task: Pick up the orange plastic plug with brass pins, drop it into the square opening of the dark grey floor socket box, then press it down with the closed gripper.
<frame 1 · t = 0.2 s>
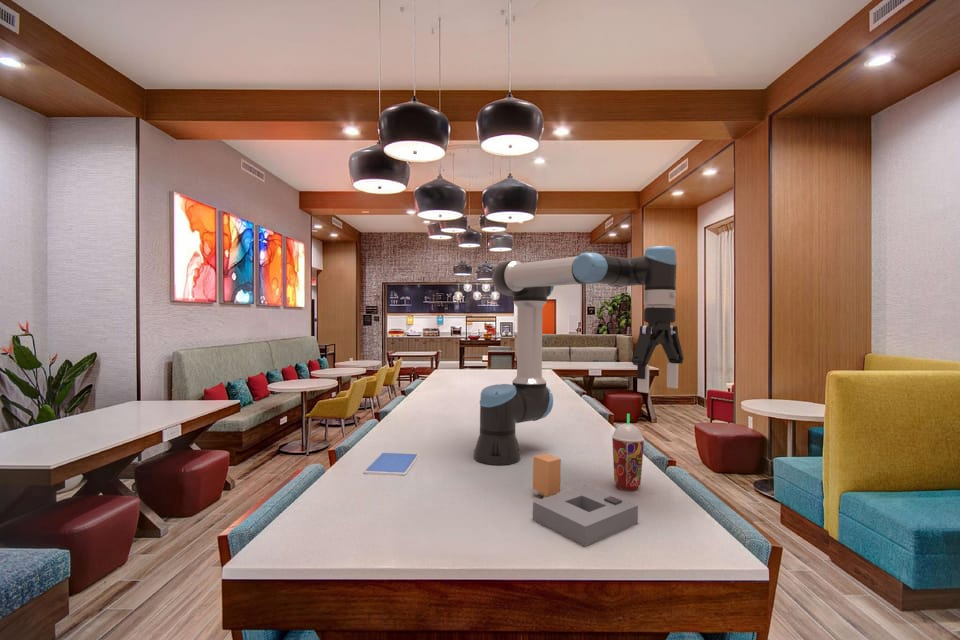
hand: (658, 390, 115), 28 cm above the table, tool pointing down, fingers open, 13 cm apart
smoothie: (627, 487, 122), on the table
tablet computer: (392, 466, 138), on the table
socket box: (585, 521, 101), on the table
plug: (546, 496, 115), on the table
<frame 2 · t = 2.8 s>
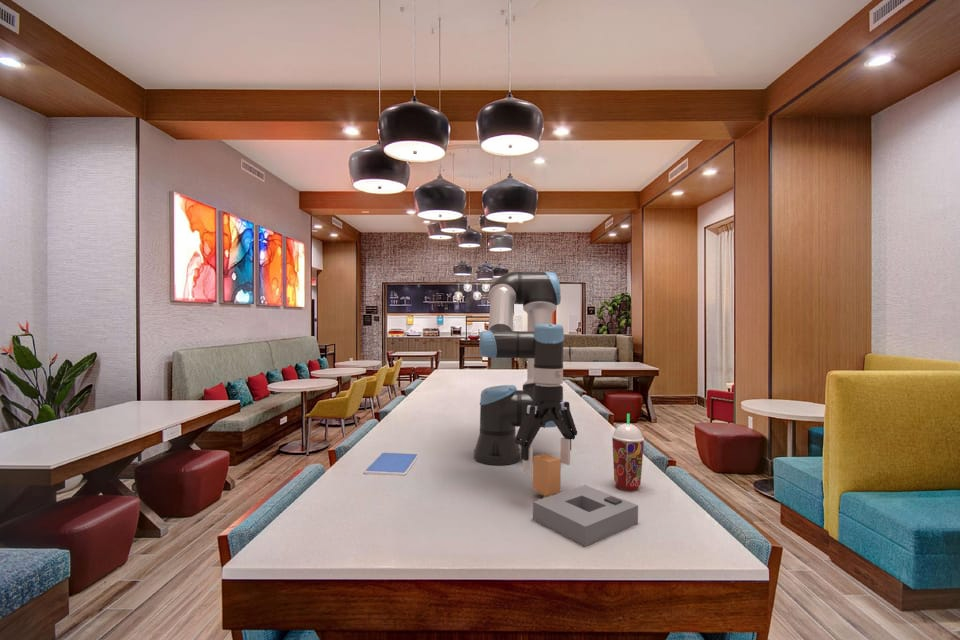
hand: (546, 468, 114), 7 cm above the table, tool pointing down, fingers open, 13 cm apart
nothing on the table moved.
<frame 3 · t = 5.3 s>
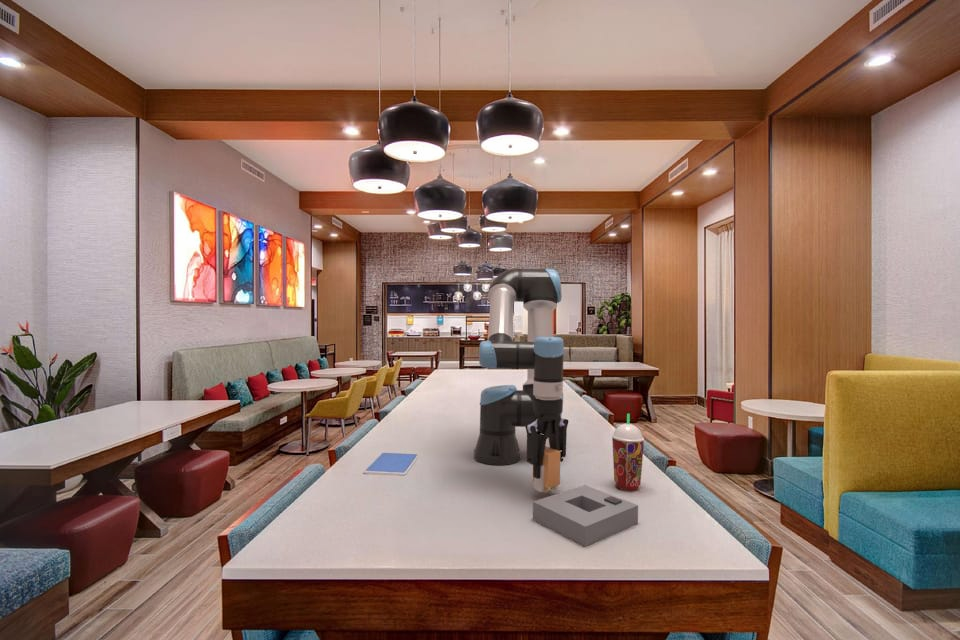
hand: (546, 487, 115), 2 cm above the table, tool pointing down, fingers closed on plug, 4 cm apart
plug: (545, 488, 115), point 2 cm above the table, touching gripper
everything else where it was.
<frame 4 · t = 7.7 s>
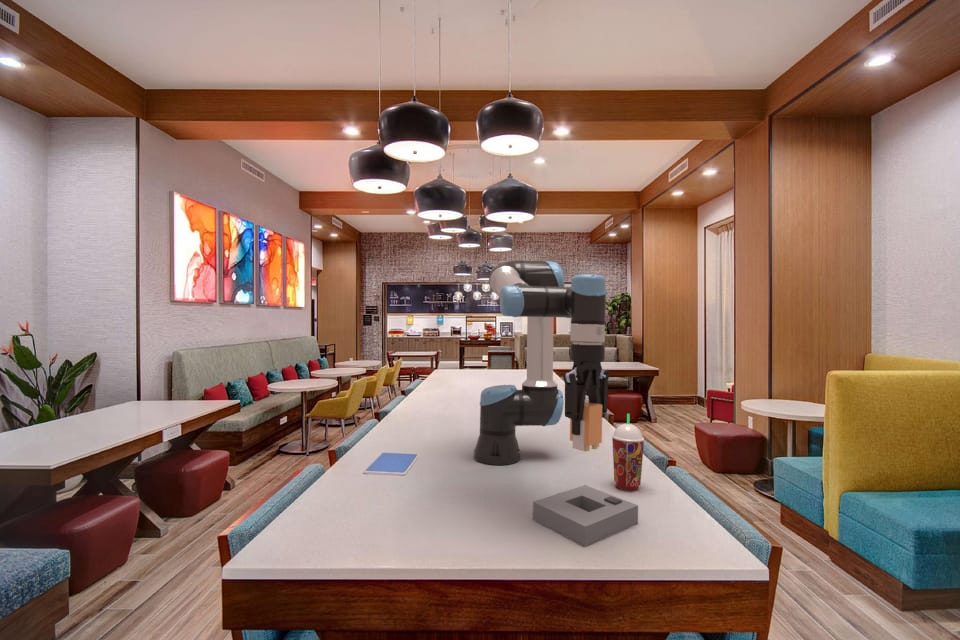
hand: (585, 447, 101), 17 cm above the table, tool pointing down, fingers closed on plug, 4 cm apart
plug: (585, 448, 101), point 16 cm above the table, touching gripper
everything else where it was.
when the fingers open (6 cm above the table, at t = 10.3 s): plug drops 5 cm, resting in socket box.
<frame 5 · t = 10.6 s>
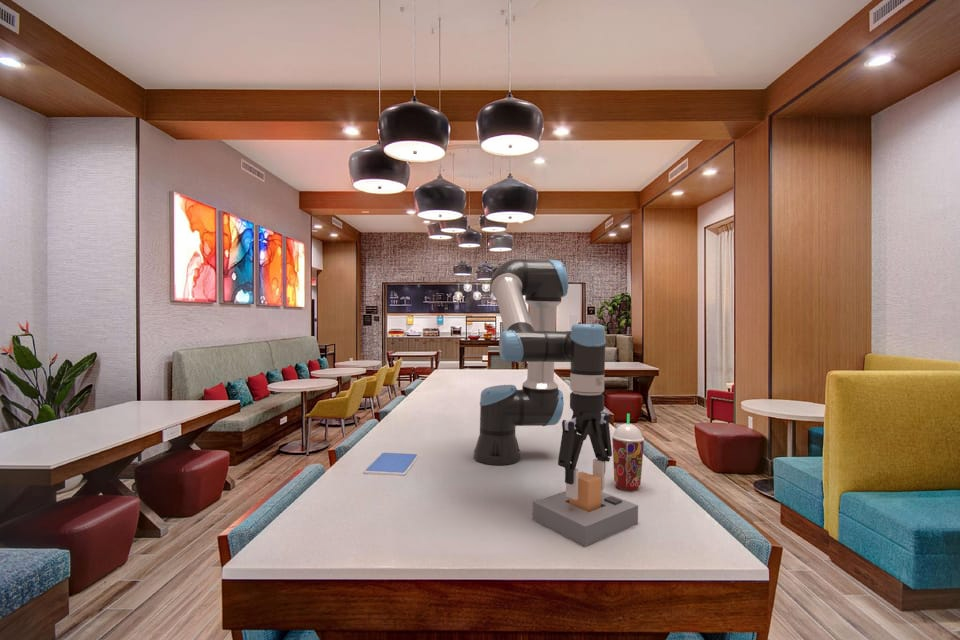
hand: (585, 493, 101), 6 cm above the table, tool pointing down, fingers open, 8 cm apart
plug: (584, 521, 101), resting in socket box
everything else where it was.
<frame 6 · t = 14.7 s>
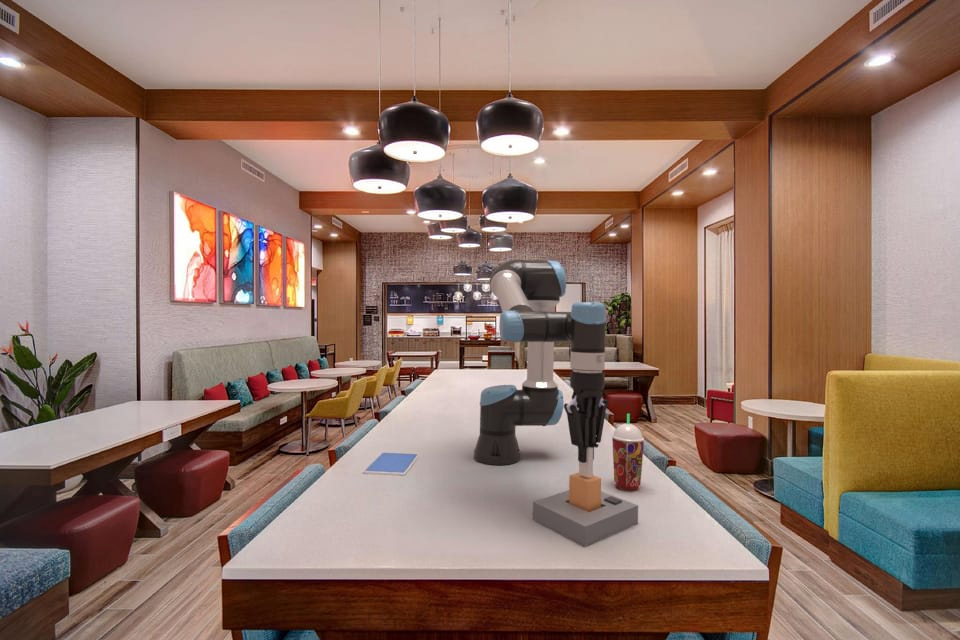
hand: (585, 475, 101), 10 cm above the table, tool pointing down, fingers closed
plug: (584, 521, 101), resting in socket box, touching gripper
everything else where it was.
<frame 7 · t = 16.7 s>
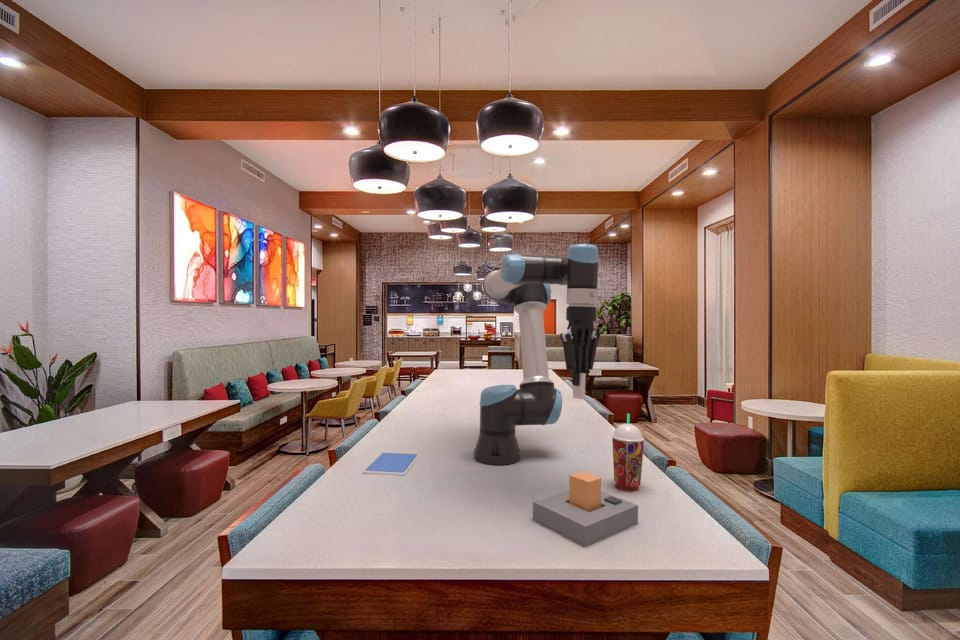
hand: (578, 397, 115), 25 cm above the table, tool pointing down, fingers closed
plug: (584, 521, 101), resting in socket box
everything else where it was.
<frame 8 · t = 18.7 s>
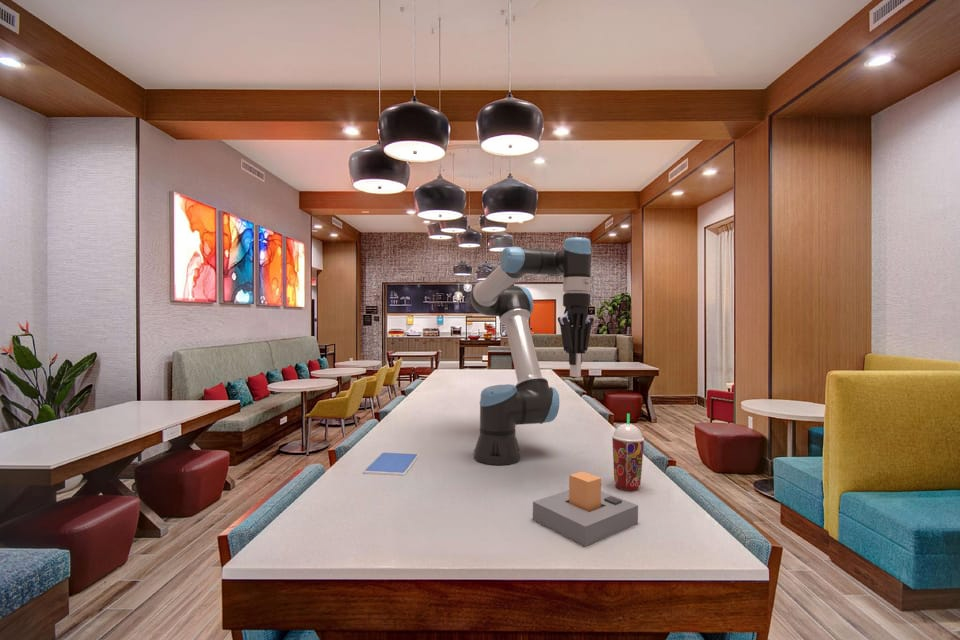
hand: (575, 376, 127), 29 cm above the table, tool pointing down, fingers closed
nothing on the table moved.
at the end: plug 0.1 cm off-centre on the socket box, point 0.0 cm above the socket box's base; plug tilted 0°; the gripper is holding nothing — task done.
